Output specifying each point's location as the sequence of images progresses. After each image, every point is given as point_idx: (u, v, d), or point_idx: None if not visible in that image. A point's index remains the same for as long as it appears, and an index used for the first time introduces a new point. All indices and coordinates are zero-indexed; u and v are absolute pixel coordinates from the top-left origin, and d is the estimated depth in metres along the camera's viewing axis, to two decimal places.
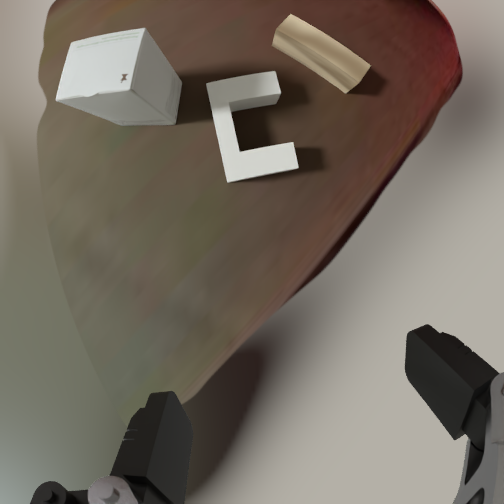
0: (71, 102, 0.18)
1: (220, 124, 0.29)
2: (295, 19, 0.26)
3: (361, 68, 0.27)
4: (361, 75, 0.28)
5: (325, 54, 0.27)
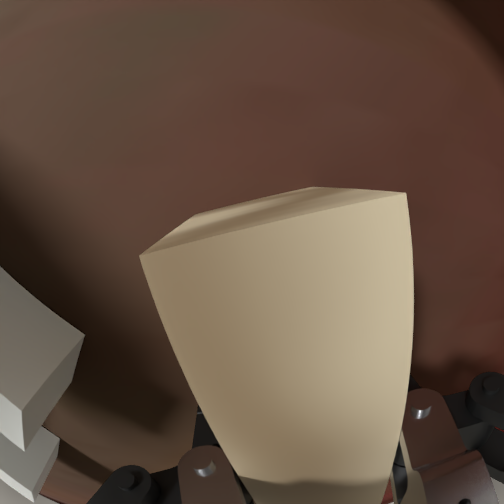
0: None
1: None
2: (386, 270, 0.04)
3: None
4: None
5: (278, 502, 0.05)
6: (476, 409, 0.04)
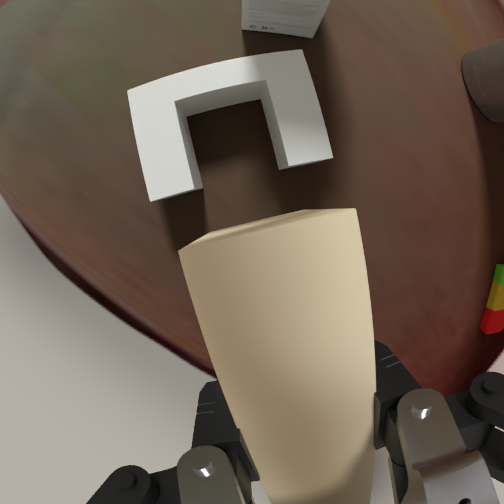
0: None
1: (224, 68, 0.15)
2: (343, 261, 0.05)
3: None
4: None
5: (275, 472, 0.06)
6: (476, 409, 0.04)
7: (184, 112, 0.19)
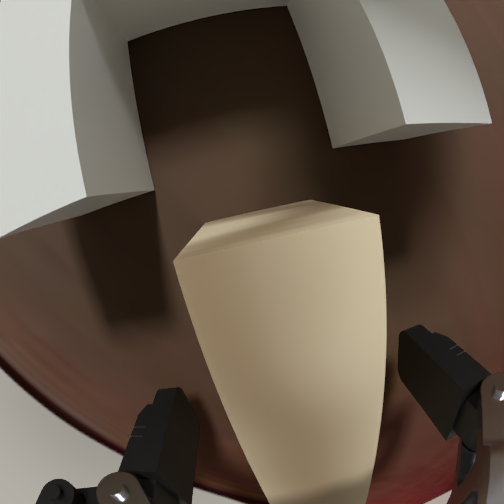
0: None
1: None
2: (362, 274, 0.05)
3: None
4: None
5: (276, 478, 0.06)
6: None
7: (117, 25, 0.06)
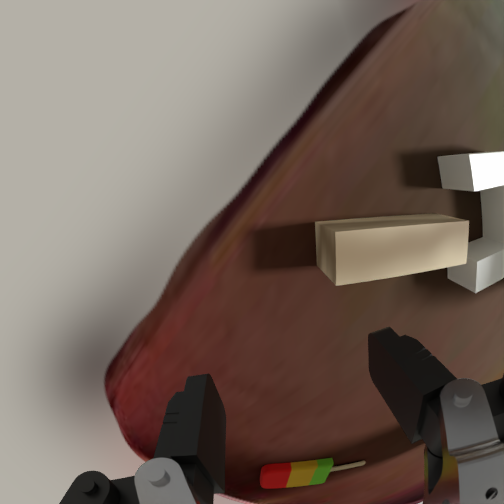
0: None
1: None
2: (459, 259, 0.18)
3: (347, 263, 0.17)
4: (339, 249, 0.17)
5: (406, 233, 0.17)
6: None
7: None
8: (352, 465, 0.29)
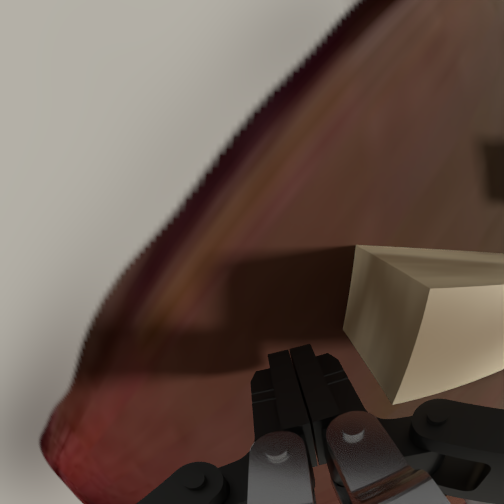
0: None
1: None
2: None
3: (429, 361, 0.06)
4: (426, 332, 0.06)
5: None
6: (423, 441, 0.04)
7: None
8: None
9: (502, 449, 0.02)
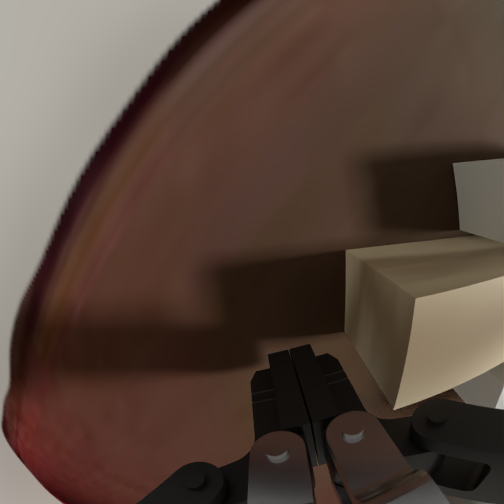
0: None
1: None
2: None
3: (426, 365, 0.06)
4: (418, 340, 0.06)
5: None
6: (423, 441, 0.04)
7: None
8: None
9: (502, 449, 0.02)
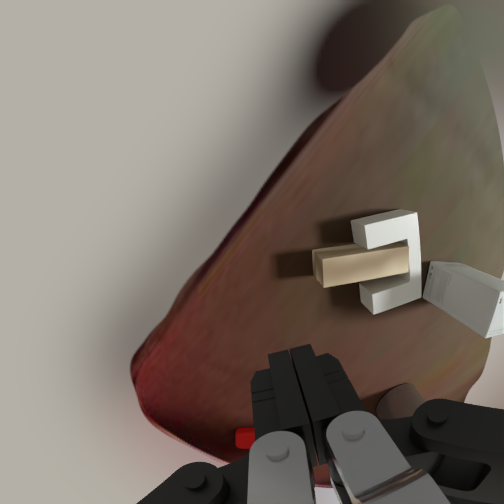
0: None
1: (417, 262, 0.33)
2: (402, 269, 0.33)
3: (329, 275, 0.32)
4: (325, 268, 0.32)
5: (364, 257, 0.32)
6: (423, 441, 0.04)
7: None
8: None
9: (502, 449, 0.02)
